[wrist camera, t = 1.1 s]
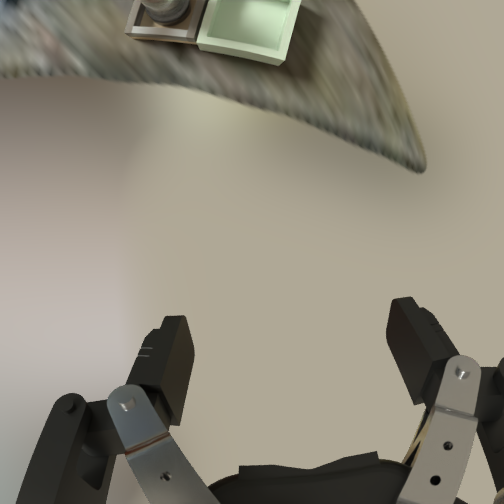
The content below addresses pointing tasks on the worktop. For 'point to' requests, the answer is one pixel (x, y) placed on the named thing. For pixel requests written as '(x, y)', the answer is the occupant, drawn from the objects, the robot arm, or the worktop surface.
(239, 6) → the bin
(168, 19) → the shiny silver cylinder
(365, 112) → the worktop surface
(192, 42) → the socket block
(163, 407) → the robot arm
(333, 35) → the worktop surface
